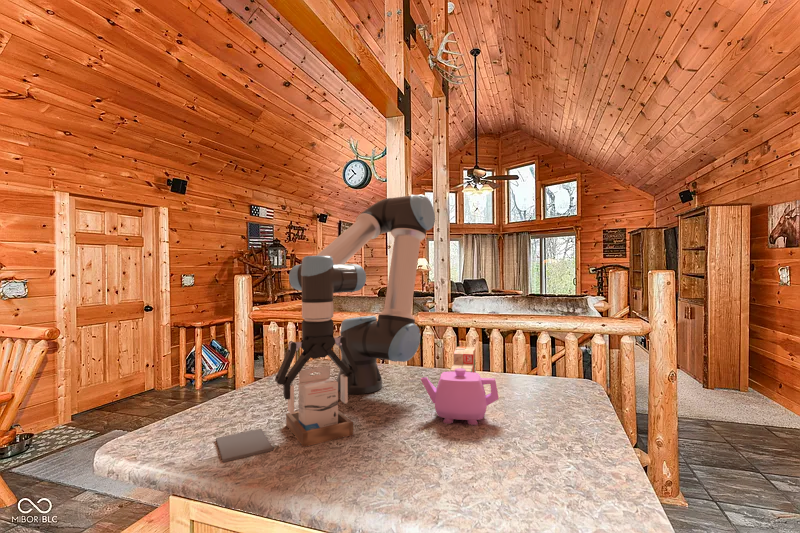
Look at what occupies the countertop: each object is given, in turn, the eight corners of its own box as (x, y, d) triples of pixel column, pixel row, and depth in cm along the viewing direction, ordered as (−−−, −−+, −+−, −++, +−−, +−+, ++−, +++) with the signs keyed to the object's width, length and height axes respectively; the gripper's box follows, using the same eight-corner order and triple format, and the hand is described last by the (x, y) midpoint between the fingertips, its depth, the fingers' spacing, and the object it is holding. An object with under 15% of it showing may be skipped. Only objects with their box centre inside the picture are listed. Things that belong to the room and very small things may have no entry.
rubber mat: (261, 430, 96) (261, 428, 96) (273, 450, 86) (273, 447, 86) (216, 440, 91) (216, 437, 91) (223, 462, 81) (223, 459, 81)
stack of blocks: (471, 403, 115) (471, 360, 115) (449, 401, 116) (449, 359, 116) (475, 382, 135) (475, 346, 135) (457, 381, 137) (457, 345, 137)
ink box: (305, 438, 92) (304, 374, 92) (298, 430, 96) (297, 370, 96) (339, 429, 97) (338, 369, 97) (330, 423, 101) (330, 365, 101)
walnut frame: (331, 415, 105) (331, 404, 105) (353, 434, 93) (353, 422, 93) (286, 425, 99) (286, 413, 99) (303, 447, 87) (303, 433, 87)
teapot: (497, 411, 108) (496, 364, 108) (500, 429, 96) (500, 377, 96) (424, 407, 111) (423, 362, 111) (418, 424, 99) (418, 374, 99)
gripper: (357, 314, 106) (358, 393, 106) (261, 321, 93) (262, 411, 93) (370, 317, 100) (371, 401, 100) (268, 325, 87) (269, 422, 87)
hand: (318, 406), depth 96 cm, fingers open, 13 cm apart
